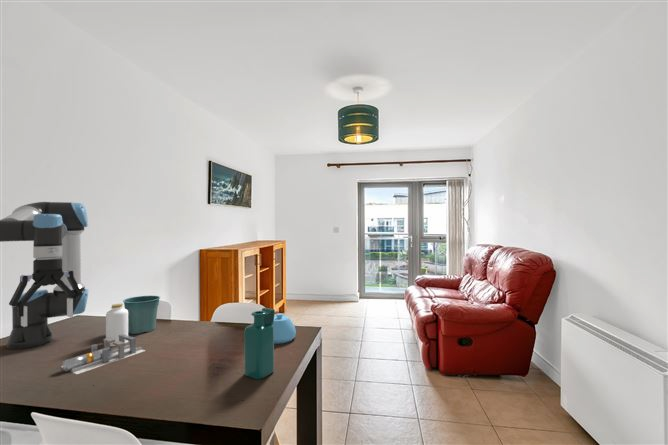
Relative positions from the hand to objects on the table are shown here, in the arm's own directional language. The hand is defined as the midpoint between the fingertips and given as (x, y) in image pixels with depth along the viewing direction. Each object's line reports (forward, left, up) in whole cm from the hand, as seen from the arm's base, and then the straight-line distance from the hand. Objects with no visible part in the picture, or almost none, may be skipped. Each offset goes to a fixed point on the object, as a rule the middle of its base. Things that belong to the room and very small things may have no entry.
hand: (48, 321), depth 110 cm
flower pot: (-25, +46, -21) cm, 56 cm away
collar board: (0, +18, -20) cm, 27 cm away
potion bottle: (-14, +29, -21) cm, 38 cm away
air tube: (0, +12, -19) cm, 23 cm away
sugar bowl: (+45, +70, -21) cm, 86 cm away
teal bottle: (+61, +40, -21) cm, 76 cm away
